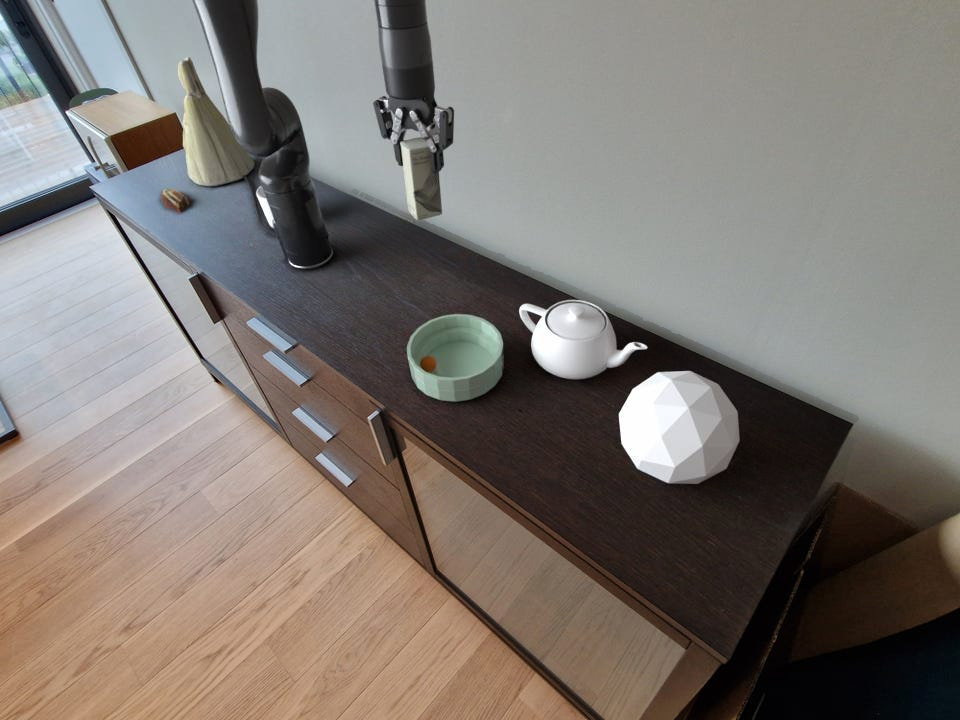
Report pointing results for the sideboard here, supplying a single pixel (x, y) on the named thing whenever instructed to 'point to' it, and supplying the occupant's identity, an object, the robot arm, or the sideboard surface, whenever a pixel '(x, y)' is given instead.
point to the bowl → (456, 357)
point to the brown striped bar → (175, 200)
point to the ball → (428, 363)
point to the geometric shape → (679, 427)
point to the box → (420, 179)
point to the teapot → (575, 339)
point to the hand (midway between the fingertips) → (420, 167)
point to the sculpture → (208, 136)
